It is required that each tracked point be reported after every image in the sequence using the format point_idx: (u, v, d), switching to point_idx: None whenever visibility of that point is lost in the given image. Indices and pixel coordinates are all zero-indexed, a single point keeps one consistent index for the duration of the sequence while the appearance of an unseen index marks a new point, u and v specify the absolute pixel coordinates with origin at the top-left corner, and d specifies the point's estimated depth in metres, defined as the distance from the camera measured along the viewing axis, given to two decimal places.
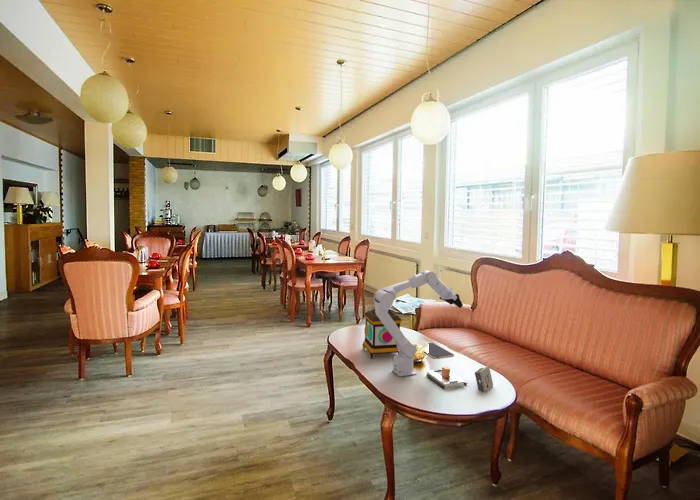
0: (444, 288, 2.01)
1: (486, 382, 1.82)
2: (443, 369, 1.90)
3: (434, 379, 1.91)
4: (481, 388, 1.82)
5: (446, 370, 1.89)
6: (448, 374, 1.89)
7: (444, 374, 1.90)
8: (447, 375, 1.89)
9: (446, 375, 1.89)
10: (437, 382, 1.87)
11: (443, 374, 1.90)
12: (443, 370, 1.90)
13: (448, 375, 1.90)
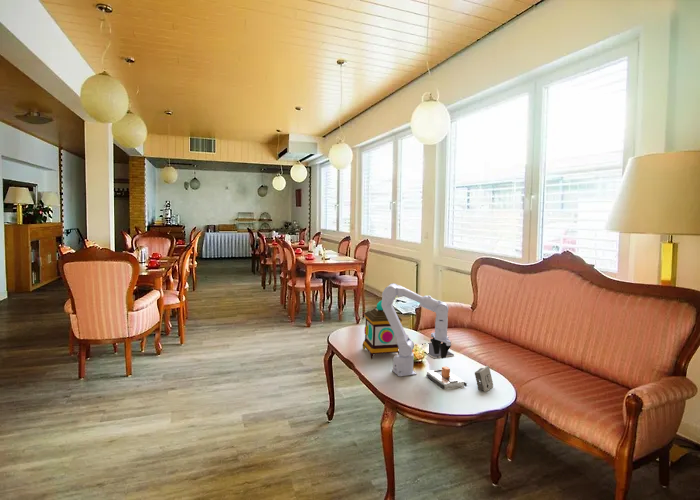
0: (445, 330, 1.92)
1: (486, 382, 1.82)
2: (443, 369, 1.90)
3: (434, 379, 1.91)
4: (481, 388, 1.82)
5: (446, 370, 1.89)
6: (448, 374, 1.89)
7: (444, 374, 1.90)
8: (447, 375, 1.89)
9: (446, 375, 1.89)
10: (437, 382, 1.87)
11: (443, 374, 1.90)
12: (443, 370, 1.90)
13: (448, 375, 1.90)
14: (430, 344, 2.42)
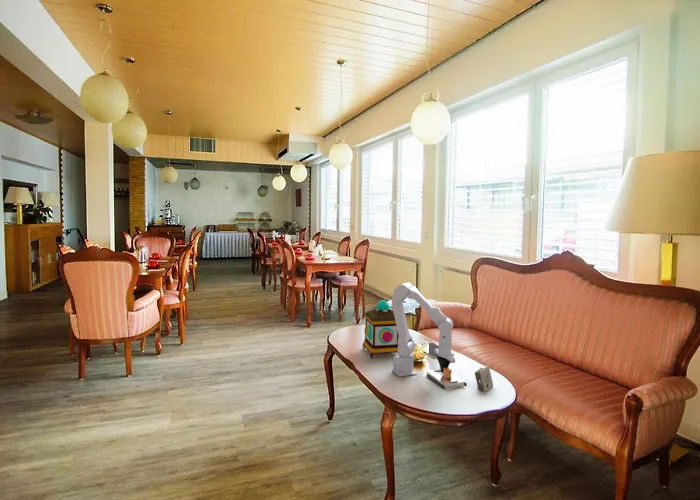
0: (449, 346, 1.89)
1: (486, 382, 1.82)
2: (445, 370, 1.89)
3: (434, 379, 1.91)
4: (481, 388, 1.82)
5: (448, 371, 1.88)
6: (450, 375, 1.88)
7: (446, 375, 1.88)
8: (449, 376, 1.88)
9: (448, 376, 1.88)
10: (437, 382, 1.87)
11: (445, 375, 1.89)
12: (445, 371, 1.89)
13: (450, 376, 1.88)
14: (430, 344, 2.42)
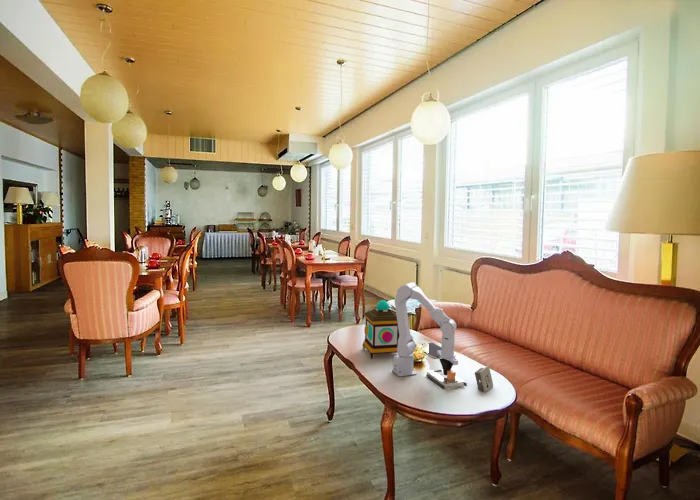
0: (452, 348, 1.87)
1: (486, 382, 1.82)
2: (448, 373, 1.86)
3: (434, 379, 1.91)
4: (481, 388, 1.82)
5: (452, 374, 1.85)
6: (454, 378, 1.85)
7: (450, 378, 1.85)
8: (453, 379, 1.85)
9: (452, 379, 1.85)
10: (437, 382, 1.87)
11: (448, 378, 1.86)
12: (448, 374, 1.86)
13: (454, 379, 1.85)
14: (430, 344, 2.42)
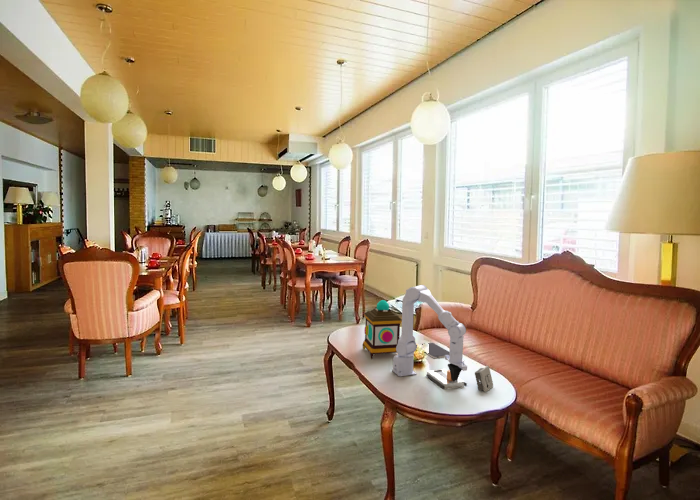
0: (461, 353, 1.80)
1: (486, 382, 1.82)
2: (448, 372, 1.86)
3: (434, 379, 1.91)
4: (481, 388, 1.82)
5: None
6: None
7: (449, 378, 1.86)
8: None
9: (451, 379, 1.85)
10: (437, 382, 1.87)
11: (448, 378, 1.86)
12: (448, 373, 1.86)
13: None
14: (430, 344, 2.42)
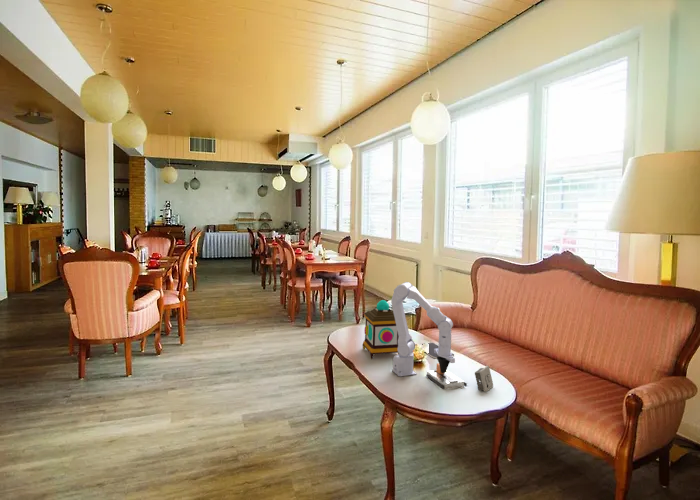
0: (449, 346, 1.89)
1: (486, 382, 1.82)
2: (438, 365, 1.95)
3: (434, 379, 1.91)
4: (481, 388, 1.82)
5: None
6: None
7: (439, 370, 1.94)
8: None
9: None
10: (437, 382, 1.87)
11: (438, 370, 1.95)
12: (438, 366, 1.95)
13: None
14: (430, 344, 2.42)
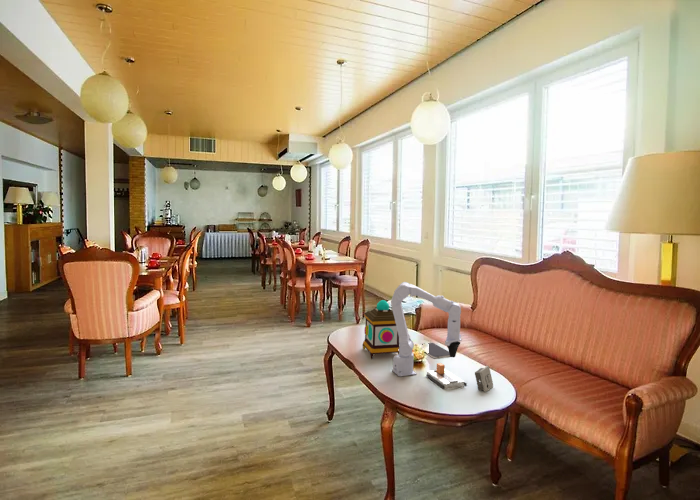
0: (453, 331, 1.91)
1: (486, 382, 1.82)
2: (438, 365, 1.95)
3: (434, 379, 1.91)
4: (481, 388, 1.82)
5: (441, 366, 1.93)
6: (443, 370, 1.94)
7: (439, 370, 1.94)
8: (442, 371, 1.94)
9: (441, 371, 1.93)
10: (437, 382, 1.87)
11: (438, 370, 1.95)
12: (438, 366, 1.95)
13: (443, 371, 1.94)
14: (430, 344, 2.42)
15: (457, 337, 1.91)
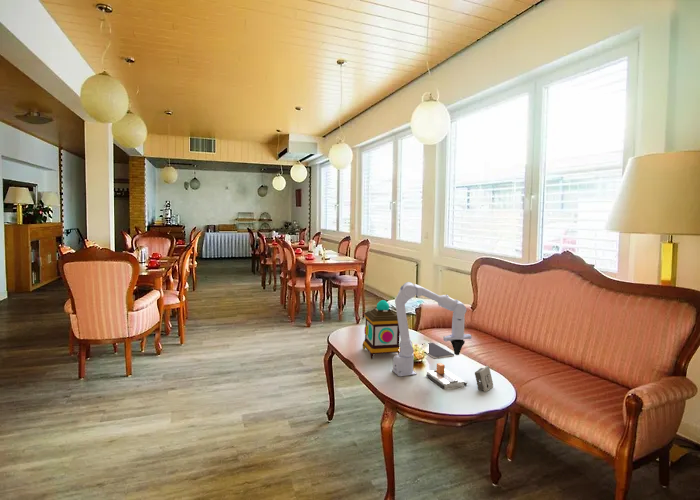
0: (454, 328, 1.95)
1: (486, 382, 1.82)
2: (438, 365, 1.95)
3: (434, 379, 1.91)
4: (481, 388, 1.82)
5: (441, 366, 1.93)
6: (443, 370, 1.94)
7: (439, 370, 1.94)
8: (442, 371, 1.94)
9: (441, 371, 1.93)
10: (437, 382, 1.87)
11: (438, 370, 1.95)
12: (438, 366, 1.95)
13: (443, 371, 1.94)
14: (430, 344, 2.42)
15: (458, 335, 1.94)
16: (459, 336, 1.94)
